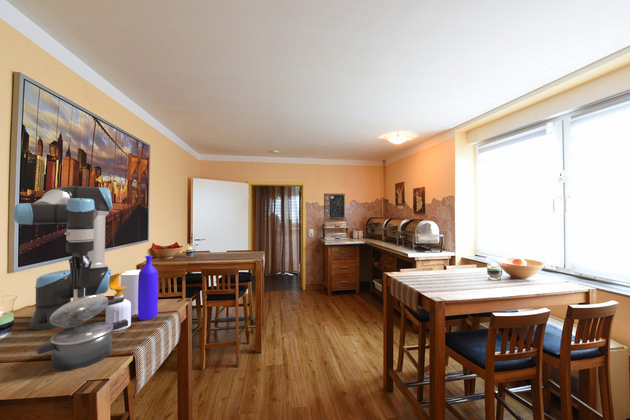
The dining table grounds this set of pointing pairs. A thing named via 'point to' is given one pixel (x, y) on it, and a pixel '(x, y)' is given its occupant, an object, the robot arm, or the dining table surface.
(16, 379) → the dining table surface
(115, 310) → the soap bottle
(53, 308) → the robot arm
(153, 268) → the bottle
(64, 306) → the lid
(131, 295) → the canister
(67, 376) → the dining table surface
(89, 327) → the pot
